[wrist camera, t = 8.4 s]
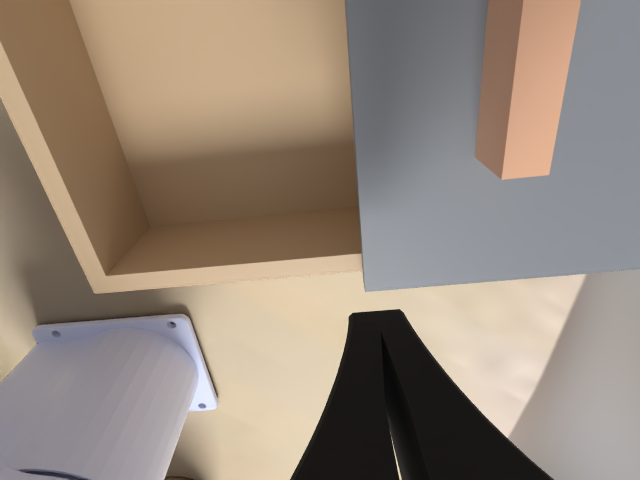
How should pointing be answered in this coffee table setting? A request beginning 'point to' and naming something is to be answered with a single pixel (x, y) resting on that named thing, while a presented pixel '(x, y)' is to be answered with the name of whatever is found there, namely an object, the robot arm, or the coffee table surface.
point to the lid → (495, 138)
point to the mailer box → (188, 135)
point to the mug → (176, 478)
